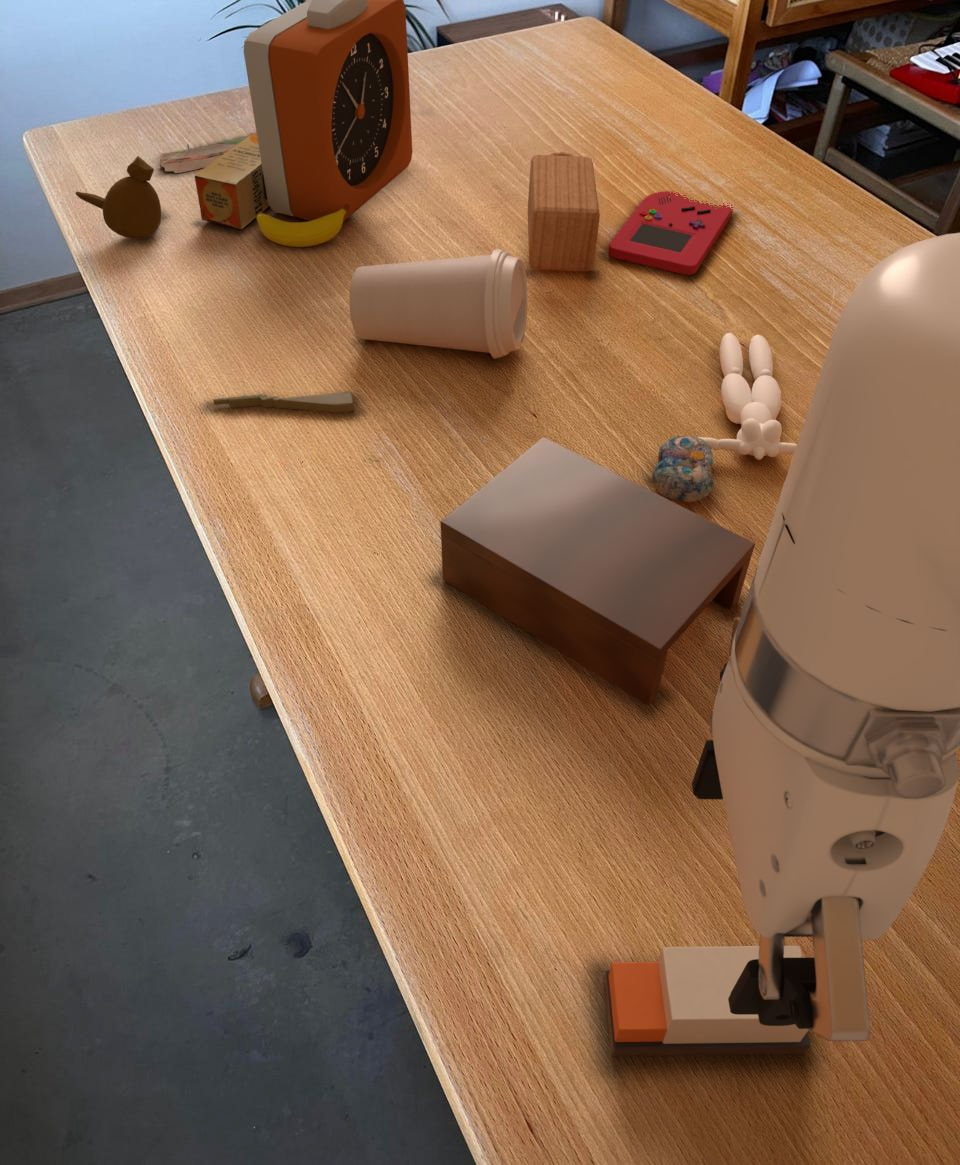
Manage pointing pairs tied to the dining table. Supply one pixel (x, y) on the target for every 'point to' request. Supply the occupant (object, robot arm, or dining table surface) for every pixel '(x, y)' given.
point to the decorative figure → (751, 401)
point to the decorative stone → (684, 469)
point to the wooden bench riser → (591, 563)
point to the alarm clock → (330, 103)
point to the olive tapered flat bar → (295, 402)
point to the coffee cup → (443, 303)
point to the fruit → (302, 229)
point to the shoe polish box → (233, 186)
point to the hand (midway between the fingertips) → (744, 891)
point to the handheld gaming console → (670, 232)
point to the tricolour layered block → (690, 1006)
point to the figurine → (130, 203)
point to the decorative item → (562, 213)
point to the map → (196, 156)
